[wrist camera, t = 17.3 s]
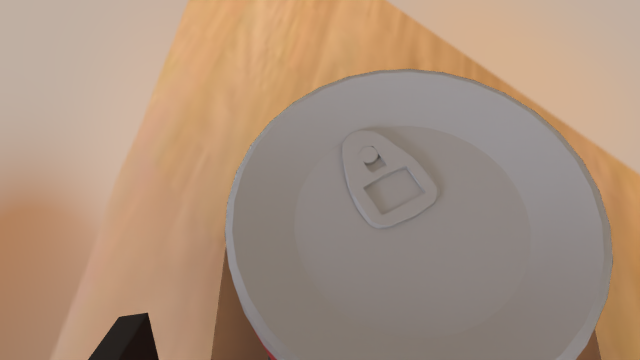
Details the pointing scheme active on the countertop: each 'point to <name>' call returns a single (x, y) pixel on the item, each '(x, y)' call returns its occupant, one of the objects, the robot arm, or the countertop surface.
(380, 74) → the canned food
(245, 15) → the countertop surface
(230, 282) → the wooden picture frame
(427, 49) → the countertop surface
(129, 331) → the robot arm
